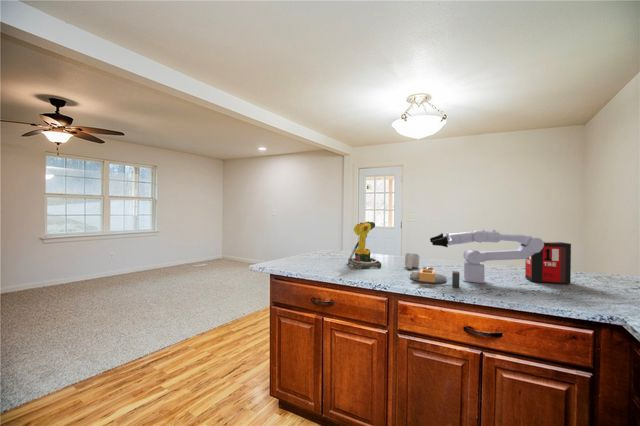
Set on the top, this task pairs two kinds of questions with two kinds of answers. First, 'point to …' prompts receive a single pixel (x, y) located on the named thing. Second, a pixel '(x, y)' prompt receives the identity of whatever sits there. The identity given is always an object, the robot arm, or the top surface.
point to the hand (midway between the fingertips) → (431, 241)
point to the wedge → (455, 279)
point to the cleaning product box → (550, 264)
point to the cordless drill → (363, 248)
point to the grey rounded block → (412, 260)
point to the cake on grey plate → (438, 277)
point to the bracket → (424, 275)
